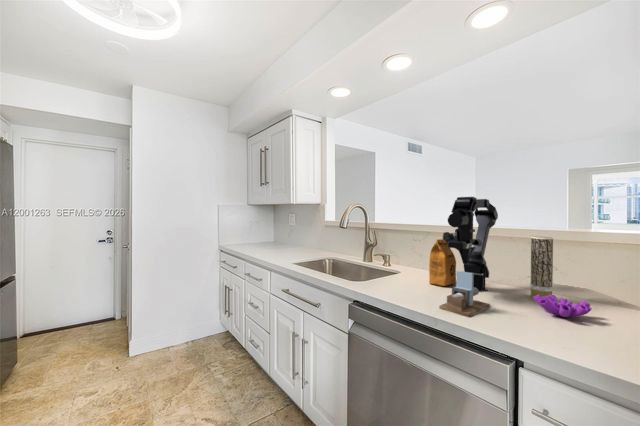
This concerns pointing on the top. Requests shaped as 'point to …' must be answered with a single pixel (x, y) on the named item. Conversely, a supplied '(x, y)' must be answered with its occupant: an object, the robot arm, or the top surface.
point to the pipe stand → (463, 304)
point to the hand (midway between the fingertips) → (464, 263)
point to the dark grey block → (467, 292)
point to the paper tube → (541, 266)
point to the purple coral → (562, 306)
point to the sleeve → (465, 283)
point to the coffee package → (442, 264)
